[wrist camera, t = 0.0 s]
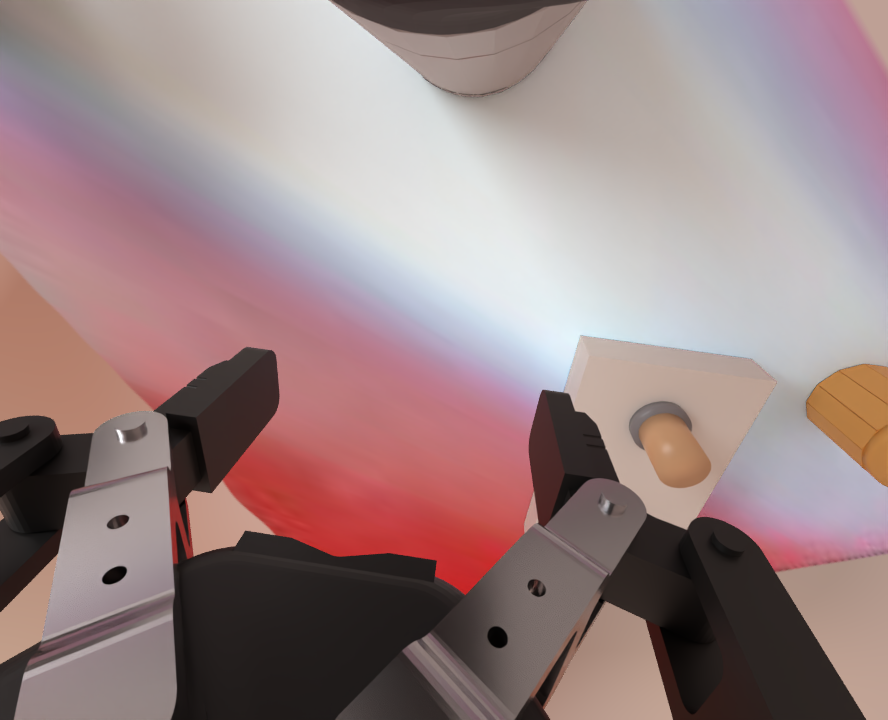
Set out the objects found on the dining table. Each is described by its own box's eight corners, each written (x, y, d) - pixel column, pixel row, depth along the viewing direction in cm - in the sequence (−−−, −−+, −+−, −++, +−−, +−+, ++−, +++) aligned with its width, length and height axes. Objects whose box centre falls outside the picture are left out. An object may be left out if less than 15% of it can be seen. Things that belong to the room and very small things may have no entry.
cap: (833, 359, 29) (911, 411, 23) (917, 371, 28) (1014, 425, 23) (791, 423, 31) (852, 482, 26) (867, 434, 31) (943, 496, 26)
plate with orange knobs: (580, 335, 29) (606, 394, 23) (751, 359, 29) (827, 425, 23) (523, 524, 39) (530, 602, 33) (651, 543, 39) (684, 627, 32)
